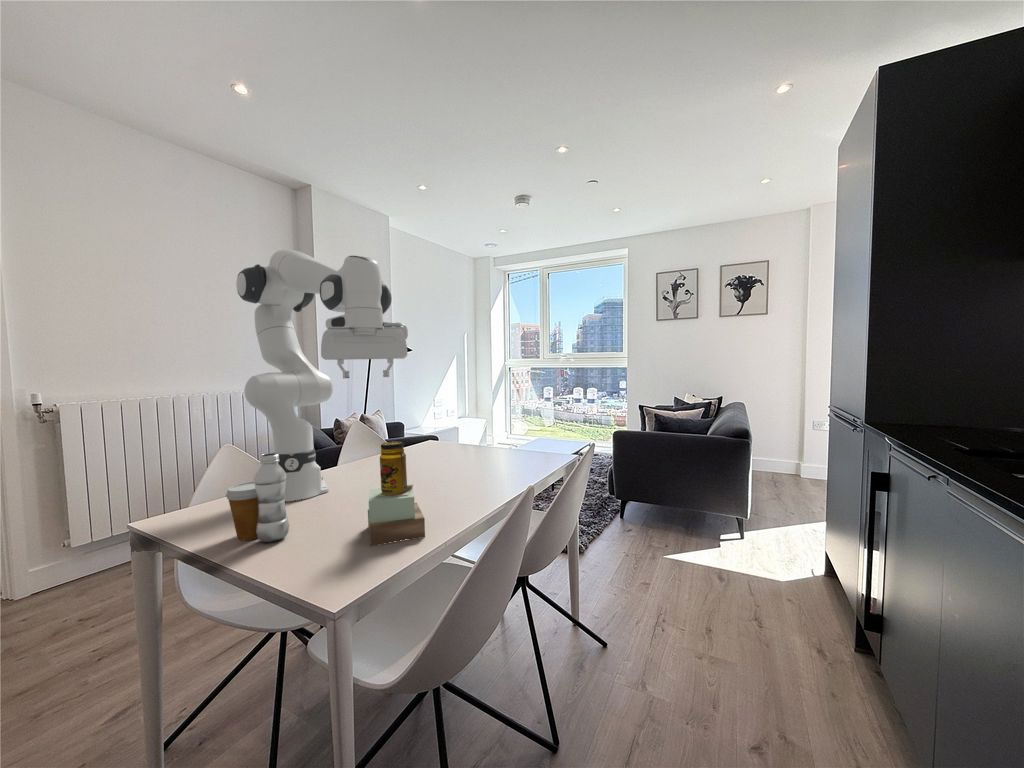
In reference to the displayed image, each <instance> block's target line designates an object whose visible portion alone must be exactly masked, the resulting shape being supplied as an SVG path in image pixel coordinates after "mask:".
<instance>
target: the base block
mask: <svg viewBox="0 0 1024 768" xmlns="http://www.w3.org/2000/svg"><path fill="white" fill-rule="evenodd" d="M414 504H415V518H411V519H403V520H395V521H387V522H378V523H370V524H369V508H368V509H367V523H368V525H367V527H368V533H369V534H368V536H370V537H369V543H370V547H374V546H373V545H375V546H379V545H378V544H381V545H385V544H384V543H387V544H390V543H389V542H393V543H395V542H394V541H399V542H401V541H400V540H405V539H411V540H414V539H413V538H417V539H420V538H419V537H423V538H426V527H425V526H426V524H425V516H424V514H423V512H422V510H421V508H420V506H419V504H418V503H417V502H414ZM405 541H406V540H405Z"/></svg>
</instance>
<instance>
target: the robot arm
mask: <svg viewBox="0 0 1024 768" xmlns="http://www.w3.org/2000/svg"><path fill="white" fill-rule="evenodd" d="M235 284H236V285H235V286H236V290H237V291H236V292H237V294H238V296H239V297H240V298H241V299H242V300H243V301H244V302H247V303H251V304H259V305H258V306H257V307H256V308H255V310H254V326H255V333H256V337H257V342H258V345H259V350H260V352H261V356H262V359H263V361H264V362H266V363H267V364H268V365H269V366H271V367H274V368H277V370H279V371H280V372H266V373H265V372H264V373H261V374H256V375H252V376H251V377H249V379H248V380H247V381H246V383H245V386H244V397H245V399H246V402H248V404H249V405H250V406H251V407H252V408H254V409H256V410H258V411H259V412H260V413H261V414H262V415H263V416H264V417H265V418H266V419H267V421H268V423H269V425H270V428H271V432H272V439H273V440H272V441H273V453H279V459H280V461H279V462H278V464H279V465H280V466H281V467H282V468H283V470H284V471H285V473H286V485H285V498H284V499H285V501H286V502H295V500H296V501H301V499H302V500H305V499H310V498H313V497H315V496H318V495H321V494H325V493H328V492H329V491H330V490H329V487H328V485H327V482H325V480H324V478H323V476H322V473H321V472H322V471H321V466H319V465H320V464H317V462H316V458H317V457H316V455H317V453H316V449H315V447H314V428H313V426H312V424H311V423H310V422H309V421H308V420H306V419H303V418H301V417H299V416H298V415H297V414H296V411H295V408H298V407H307V406H316V405H319V404H322V403H324V402H327V401H329V400H330V398H331V397H332V395H333V391H334V385H333V382H332V379H331V378H330V377H329V376H328V374H326V373H324V372H322V371H320V370H318V369H317V368H316V367H315V366H314V365H312V363H311V362H310V361H309V360H308V358H307V357H306V356H305V355H304V353H303V350H302V348H301V345H300V342H299V340H298V335H297V333H296V329H295V327H294V323H293V320H292V312H293V311H294V312H296V313H300V312H302V310H303V308H306V307H308V305H309V304H310V303H312V301H313V300H314V298H315V294H316V295H317V294H318V295H319V298H320V300H321V303H322V304H323V305H324V307H325V308H326V309H328V310H329V311H331V312H336V313H344V314H340V315H338V316H334V317H330V318H327V319H326V320H325V327H326V330H324V332H323V333H322V336H321V345H320V356H321V358H322V359H323V360H325V361H331V360H332V361H337V363H336V364H337V366H338V367H339V369H340V370H341V371H342V379H350V371H349V370H346V369H345V367H344V366H343V365H344V364H345V360H347V361H348V360H387V361H386V362H387V364H388V366H387V367H386V369H383V370H382V377H383V378H390V370H391V369H392V367H393V365H394V360H399V359H402V360H403V359H406V358H407V356H408V345H407V339H408V336H409V333H408V331H409V330H408V327H407V326H406V325H405V324H403V323H401V322H387V321H384V314H385V313H386V312H387V311H388V310H389V308H390V306H391V304H392V299H393V298H392V293H391V291H390V288H389V287H388V285H387V284H386V283H385V282H384V281H383V280H382V278H381V270H380V266H379V264H378V262H377V261H376V259H373V258H371V257H365V256H360V255H348V256H346V257H345V258H344V260H343V264H342V266H341V267H340V268H339V269H336V268H334V267H332V266H330V265H328V264H325V263H324V262H322V261H320V260H318V259H317V258H315V257H313V256H311V255H308V254H306V253H304V252H302V251H298V250H294V249H279V250H277V251H275V252H274V253H273V254H272V255H271V256H270V260H269V264H268V265H267V266H262V265H260V264H255V265H254V266H251V267H245V268H243V269H242V270H241V271H239V273H238V274H237V277H236V283H235Z"/></svg>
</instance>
